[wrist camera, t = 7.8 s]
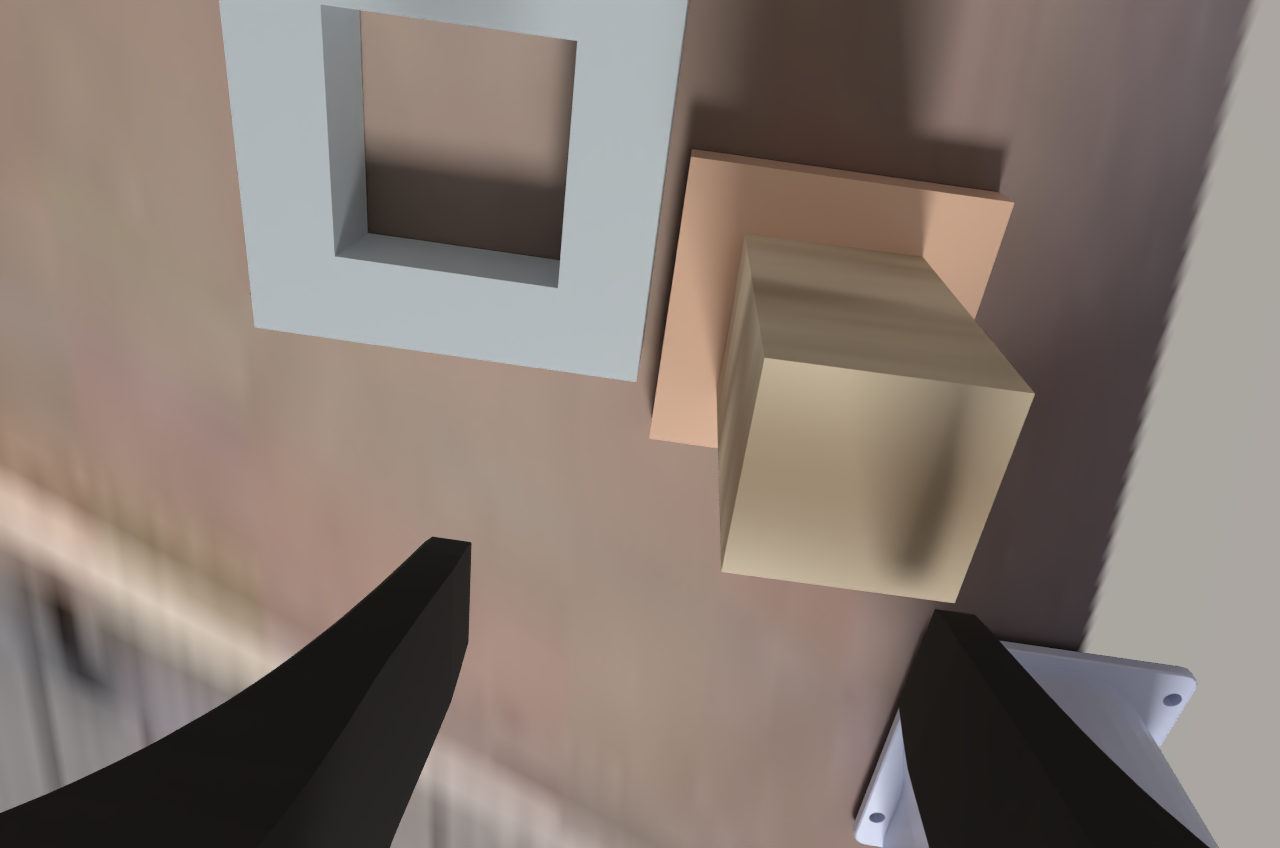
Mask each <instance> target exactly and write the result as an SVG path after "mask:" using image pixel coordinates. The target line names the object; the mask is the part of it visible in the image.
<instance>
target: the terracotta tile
mask: <svg viewBox="0 0 1280 848" xmlns="http://www.w3.org/2000/svg"><path fill="white" fill-rule="evenodd" d="M1013 206H1014V202H1013V201H1011V200H1010V199H1009V198H1007V197H1006V196H1004V195H1003V194H1001V193H1000V192H993V191H986V190H979V189H972V188H965V187H957V186H950V185H943V184H936V183H929V182H922V181H915V180H908V179H901V178H894V177H887V176H880V175H873V174H866V173H859V172H852V171H845V170H838V169H830V168H823V167H816V166H809V165H802V164H795V163H788V162H781V161H774V160H767V159H760V158H753V157H746V156H739V155H732V154H725V153H718V152H711V151H703V150H696V149H692V151H691V157H690V164H689V171H688V178H687V184H686V191H685V198H684V205H683V211H682V218H681V225H680V232H679V238H678V245H677V252H676V259H675V265H674V272H673V279H672V286H671V292H670V299H669V306H668V313H667V319H666V326H665V333H664V340H663V346H662V353H661V360H660V367H659V373H658V380H657V387H656V394H655V400H654V407H653V414H652V421H651V429H650V437H649V438H650V439H657V440H664V441H670V442H677V443H684V444H691V445H698V446H705V447H712V448H718V433H717V396H716V393H717V387H718V382H719V376H720V370H721V364H722V359H723V353H724V347H725V342H726V336H727V330H728V325H729V319H730V313H731V308H732V302H733V296H734V290H735V285H736V279H737V273H738V268H739V262H740V256H741V251H742V245H743V239H744V234H752V235H760V236H768V237H775V238H783V239H790V240H798V241H806V242H813V243H821V244H829V245H836V246H844V247H851V248H859V249H867V250H874V251H882V252H890V253H897V254H905V255H912V256H920V257H923V258H924V259H925V260H926V261H927V263H928V264H929V265H930V266H931V267H932V269H933V270H934V271H935V272H936V274H937V275H938V276H939V277H940V278H941V280H942V281H943V282H944V283H945V284H946V286H947V287H948V288H949V289H950V291H951V292H952V293H953V294H954V295H955V297H956V298H957V299H958V300H959V302H960V303H961V304H962V305H963V306H964V308H965V309H966V310H967V311H968V313H969V314H970V315H971V316H972V317H973V319H974V320H975V317H976V314H977V311H978V309H979V306H980V303H981V300H982V297H983V294H984V291H985V288H986V285H987V282H988V279H989V276H990V273H991V270H992V267H993V264H994V262H995V259H996V256H997V253H998V250H999V247H1000V244H1001V241H1002V238H1003V235H1004V232H1005V229H1006V226H1007V223H1008V220H1009V218H1010V215H1011V212H1012V209H1013Z"/></svg>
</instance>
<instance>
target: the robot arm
mask: <svg viewBox="0 0 1280 848" xmlns="http://www.w3.org/2000/svg"><path fill="white" fill-rule="evenodd" d="M470 571H471V542H466V541H459V540H452V539H445V538H438V537H431V538H430V539H428V540H427V541H425V542H424V543H423V544H422V545H421V546H420V547H419V548H418V549H417V550H416V551H415V552H414V553H413V554H412V555H411V556H410V557H409V558H408V559H407V560H406V561H405V562H403V563H402V564H401V565H400V566H399V567H398V568H397V569H396V570H395V571H394V572H393V573H392V574H391V575H390V576H389V577H387V578H386V579H385V580H384V581H383V582H382V583H381V584H380V585H379V586H378V587H376V588H375V589H374V590H373V591H372V592H371V593H370V594H369V595H367V596H366V597H365V598H364V599H363V600H362V601H360V602H359V603H358V604H357V605H356V606H355V607H353V608H352V609H351V610H350V611H349V612H348V613H347V614H345V615H344V616H343V617H342V618H341V619H339V620H338V621H337V622H336V623H335V624H333V625H332V626H331V627H330V628H328V629H327V630H326V631H324V632H323V633H322V634H321V635H319V636H318V637H317V638H315V639H314V640H313V641H312V642H310V643H309V644H308V645H306V646H305V647H304V648H303V649H301V650H300V651H299V652H297V653H296V654H295V655H294V656H292V657H291V658H290V659H288V660H287V661H285V662H284V663H283V664H281V665H280V666H278V667H277V668H276V669H274V670H273V671H271V672H270V673H269V674H267V675H266V676H264V677H263V678H261V679H260V680H258V681H257V682H255V683H254V684H252V685H251V686H249V687H248V688H246V689H245V690H243V691H242V692H240V693H239V694H237V695H236V696H234V697H233V698H231V699H229V700H228V701H226V702H225V703H223V704H221V705H220V706H218V707H216V708H215V709H213V710H211V711H209V712H208V713H206V714H204V715H203V716H201V717H199V718H197V719H196V720H194V721H192V722H190V723H189V724H187V725H185V726H183V727H182V728H180V729H178V730H176V731H175V732H173V733H171V734H169V735H167V736H166V737H164V738H162V739H160V740H159V741H157V742H155V743H153V744H151V745H149V746H147V747H145V748H143V749H141V750H139V751H137V752H135V753H133V754H131V755H129V756H127V757H125V758H123V759H121V760H119V761H117V762H115V763H113V764H111V765H109V766H107V767H105V768H103V769H101V770H99V771H96V772H94V773H92V774H90V775H88V776H86V777H84V778H82V779H80V780H77V781H75V782H73V783H71V784H69V785H66V786H64V787H62V788H60V789H57V790H55V791H53V792H51V793H48V794H46V795H43V796H41V797H39V798H36V799H34V800H31V801H29V802H26V803H24V804H22V805H19V806H17V807H14V808H12V809H9V810H7V811H5V812H2V813H0V848H390V846H391V843H392V840H393V838H394V835H395V833H396V830H397V828H398V826H399V823H400V821H401V819H402V816H403V814H404V812H405V809H406V807H407V805H408V802H409V800H410V798H411V795H412V793H413V790H414V788H415V786H416V783H417V781H418V779H419V776H420V774H421V772H422V769H423V767H424V765H425V762H426V760H427V758H428V755H429V753H430V751H431V748H432V746H433V743H434V741H435V739H436V736H437V734H438V732H439V729H440V727H441V724H442V722H443V720H444V717H445V715H446V712H447V710H448V708H449V705H450V703H451V700H452V696H453V693H454V690H455V686H456V683H457V680H458V676H459V673H460V669H461V666H462V662H463V659H464V655H465V652H466V648H467V645H468V636H469V603H470ZM1196 687H1197V681H1196V679H1195V678H1194V676H1193V674H1192V673H1191V672H1190V671H1189V670H1188V669H1186V668H1183V667H1179V666H1172V665H1165V664H1158V663H1151V662H1144V661H1137V660H1130V659H1123V658H1116V657H1109V656H1103V655H1095V654H1089V653H1082V652H1075V651H1068V650H1061V649H1054V648H1047V647H1040V646H1033V645H1026V644H1019V643H1012V642H1006V641H999V640H998V639H997V638H996V637H995V636H994V635H993V633H992V632H991V631H990V630H989V629H988V628H987V627H986V626H985V625H984V624H983V623H982V622H981V621H980V620H979V619H978V618H977V617H976V616H975V615H972V614H965V613H958V612H951V611H944V610H937V609H935V611H934V613H933V616H932V619H931V621H930V624H929V626H928V629H927V631H926V634H925V637H924V639H923V642H922V644H921V647H920V650H919V652H918V655H917V657H916V660H915V663H914V665H913V668H912V670H911V673H910V676H909V678H908V681H907V683H906V686H905V688H904V691H903V694H902V696H901V699H900V701H899V704H898V705H899V709H898V711H897V714H896V716H895V719H894V722H893V724H892V727H891V729H890V732H889V735H888V737H887V740H886V742H885V745H884V747H883V750H882V753H881V755H880V758H879V760H878V763H877V766H876V768H875V771H874V773H873V776H872V778H871V781H870V784H869V786H868V789H867V791H866V794H865V796H864V799H863V802H862V804H861V807H860V809H859V812H858V815H857V817H856V820H855V822H854V825H853V831H854V837H855V838H856V840H857V841H859V842H860V843H862V844H866V845H872V846H879V847H883V848H1219V847H1218V845H1217V844H1216V842H1215V840H1214V839H1213V837H1212V835H1211V834H1210V832H1209V830H1208V829H1207V827H1206V825H1205V824H1204V822H1203V821H1202V819H1201V817H1200V815H1199V814H1198V812H1197V810H1196V809H1195V807H1194V805H1193V804H1192V802H1191V800H1190V799H1189V797H1188V795H1187V794H1186V792H1185V790H1184V789H1183V787H1182V785H1181V784H1180V782H1179V780H1178V779H1177V777H1176V775H1175V774H1174V772H1173V770H1172V769H1171V767H1170V765H1169V764H1168V762H1167V760H1166V759H1165V757H1164V755H1163V754H1162V752H1161V750H1160V749H1159V747H1160V746H1161V744H1162V743H1163V741H1164V739H1165V738H1166V736H1167V735H1168V733H1169V731H1170V730H1171V728H1172V726H1173V725H1174V723H1175V722H1176V720H1177V719H1178V717H1179V715H1180V713H1181V712H1182V710H1183V709H1184V707H1185V706H1186V704H1187V702H1188V701H1189V699H1190V698H1191V696H1192V694H1193V693H1194V691H1195V689H1196ZM1170 694H1171V695H1170ZM1167 695H1168V696H1167Z"/></svg>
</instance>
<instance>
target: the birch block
mask: <svg viewBox="0 0 1280 848" xmlns="http://www.w3.org/2000/svg"><path fill="white" fill-rule="evenodd" d="M1034 395H1035V393H1034V392H1033V390H1032V389H1031V388H1030V387H1029V386H1028V384H1027V383H1026V382H1025V381H1024V379H1023V378H1022V377H1021V376H1020V375H1019V373H1018V372H1017V371H1016V370H1015V369H1014V367H1013V366H1012V365H1011V364H1010V362H1009V361H1008V360H1007V359H1006V358H1005V356H1004V355H1003V354H1002V353H1001V351H1000V350H999V349H998V348H997V347H996V345H995V344H994V343H993V342H992V341H991V339H990V338H989V337H988V336H987V334H986V333H985V332H984V331H983V330H982V328H981V327H980V326H979V325H978V323H977V322H976V321H975V320H974V319H973V317H972V316H971V315H970V314H969V313H968V311H967V310H966V309H965V308H964V306H963V305H962V304H961V303H960V302H959V300H958V299H957V298H956V297H955V295H954V294H953V293H952V292H951V291H950V289H949V288H948V287H947V286H946V284H945V283H944V282H943V281H942V280H941V278H940V277H939V276H938V275H937V274H936V272H935V271H934V270H933V269H932V267H931V266H930V265H929V264H928V263H927V261H926V260H925V259H924V258H923V257H920V256H912V255H905V254H897V253H890V252H882V251H874V250H867V249H859V248H851V247H844V246H836V245H829V244H821V243H813V242H806V241H798V240H790V239H783V238H775V237H768V236H760V235H752V234H744V239H743V245H742V251H741V256H740V262H739V268H738V273H737V279H736V285H735V290H734V296H733V302H732V308H731V313H730V319H729V325H728V330H727V336H726V342H725V347H724V353H723V359H722V364H721V370H720V376H719V382H718V387H717V393H716V396H717V433H718V470H719V507H720V543H721V572H727V573H734V574H741V575H749V576H756V577H764V578H771V579H778V580H786V581H793V582H801V583H808V584H815V585H823V586H830V587H838V588H845V589H852V590H860V591H867V592H875V593H882V594H889V595H897V596H904V597H912V598H919V599H926V600H934V601H941V602H949V603H955V601H956V598H957V596H958V593H959V591H960V588H961V585H962V583H963V580H964V578H965V575H966V572H967V570H968V567H969V565H970V562H971V559H972V557H973V554H974V552H975V549H976V546H977V544H978V541H979V539H980V536H981V533H982V531H983V528H984V526H985V523H986V520H987V518H988V515H989V513H990V510H991V507H992V505H993V502H994V499H995V497H996V494H997V492H998V489H999V486H1000V484H1001V481H1002V479H1003V476H1004V473H1005V471H1006V468H1007V466H1008V463H1009V460H1010V458H1011V455H1012V453H1013V450H1014V447H1015V445H1016V442H1017V440H1018V437H1019V434H1020V432H1021V429H1022V427H1023V424H1024V421H1025V419H1026V416H1027V414H1028V411H1029V408H1030V406H1031V403H1032V401H1033V398H1034Z"/></svg>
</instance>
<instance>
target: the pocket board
mask: <svg viewBox="0 0 1280 848" xmlns="http://www.w3.org/2000/svg"><path fill="white" fill-rule="evenodd" d="M689 1H690V0H219V5H220V14H221V23H222V32H223V41H224V50H225V59H226V69H227V78H228V87H229V96H230V105H231V114H232V123H233V133H234V142H235V151H236V160H237V169H238V178H239V187H240V196H241V206H242V215H243V224H244V233H245V242H246V251H247V260H248V270H249V279H250V288H251V297H252V306H253V315H254V324H255V328H262V329H269V330H276V331H283V332H290V333H297V334H304V335H311V336H318V337H325V338H332V339H339V340H346V341H353V342H360V343H367V344H374V345H381V346H388V347H395V348H402V349H409V350H416V351H423V352H430V353H437V354H444V355H451V356H458V357H465V358H472V359H479V360H486V361H493V362H500V363H507V364H514V365H521V366H528V367H535V368H542V369H549V370H556V371H563V372H570V373H577V374H584V375H591V376H598V377H605V378H612V379H619V380H626V381H633V382H636V381H637V376H638V370H639V365H640V359H641V353H642V347H643V340H644V333H645V325H646V318H647V310H648V303H649V296H650V288H651V281H652V274H653V266H654V259H655V251H656V244H657V237H658V229H659V222H660V215H661V207H662V200H663V192H664V185H665V178H666V170H667V163H668V156H669V148H670V141H671V133H672V126H673V119H674V111H675V104H676V97H677V89H678V82H679V74H680V67H681V60H682V52H683V45H684V37H685V30H686V23H687V15H688V8H689ZM360 10H362V11H370V12H377V13H384V14H391V15H398V16H405V17H412V18H419V19H426V20H433V21H440V22H447V23H455V24H462V25H469V26H476V27H483V28H490V29H497V30H504V31H511V32H518V33H525V34H532V35H540V36H547V37H554V38H561V39H568V40H575V41H577V52H576V65H575V78H574V90H573V103H572V116H571V128H570V141H569V154H568V166H567V179H566V192H565V205H564V217H563V230H562V243H561V255H560V260H555V259H548V258H541V257H534V256H527V255H520V254H513V253H506V252H498V251H491V250H484V249H477V248H470V247H463V246H456V245H449V244H442V243H435V242H428V241H421V240H414V239H407V238H400V237H393V236H386V235H379V234H372V233H368V224H367V197H366V169H365V142H364V114H363V87H362V60H361V32H360Z"/></svg>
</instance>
